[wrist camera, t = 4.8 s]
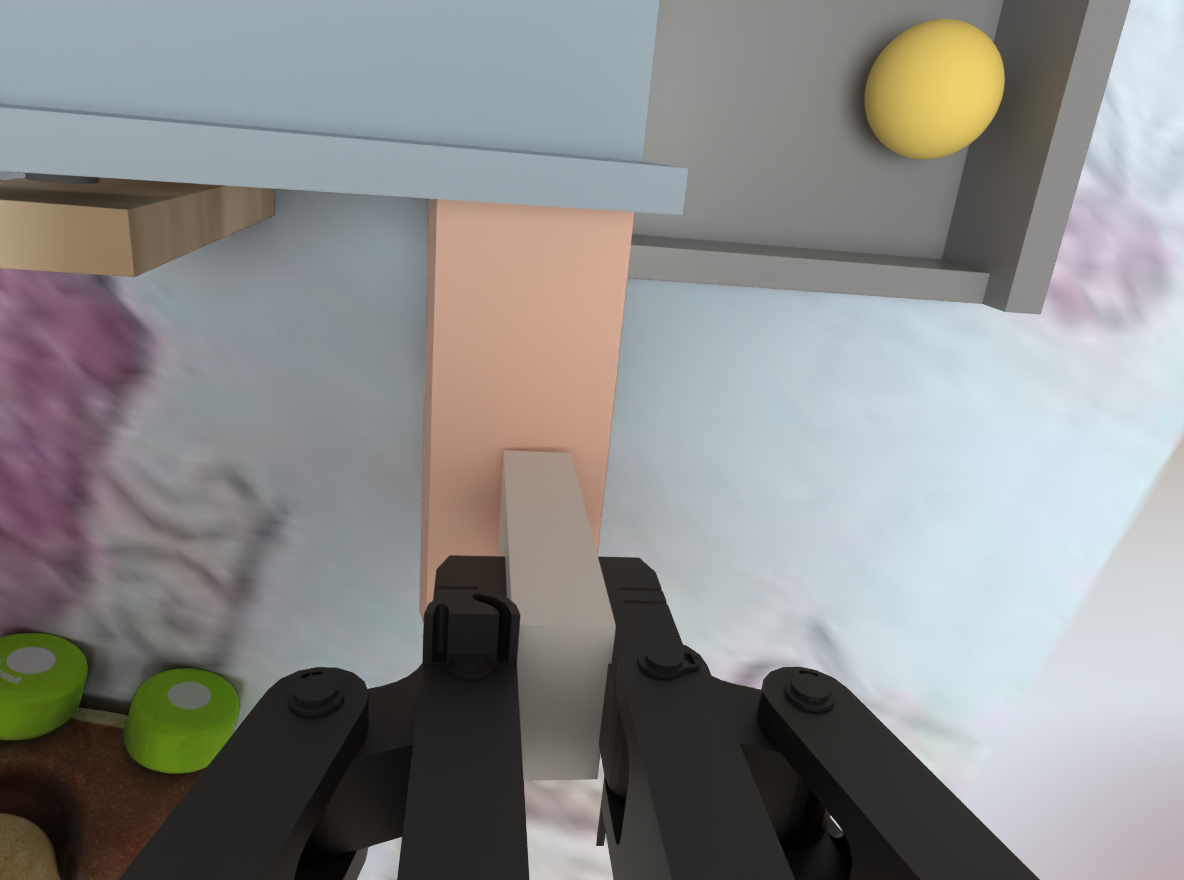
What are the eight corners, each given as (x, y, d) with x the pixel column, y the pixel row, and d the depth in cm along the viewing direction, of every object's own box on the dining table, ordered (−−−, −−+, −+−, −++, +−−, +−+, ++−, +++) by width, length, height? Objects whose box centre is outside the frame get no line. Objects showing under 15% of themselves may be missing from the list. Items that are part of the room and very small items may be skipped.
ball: (974, 165, 22) (852, 153, 23) (1007, 33, 21) (876, 25, 22) (995, 165, 19) (854, 152, 20) (1034, 12, 18) (882, 4, 19)
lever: (-491, 660, 15) (-825, 911, 10) (-999, -507, 9) (-2210, -1095, 5) (555, 555, 22) (634, 673, 18) (616, -131, 17) (753, -220, 12)
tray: (522, 253, 23) (532, 277, 19) (549, -182, 19) (568, -255, 15) (955, 285, 25) (1040, 314, 21) (1051, -102, 21) (1173, -149, 17)
